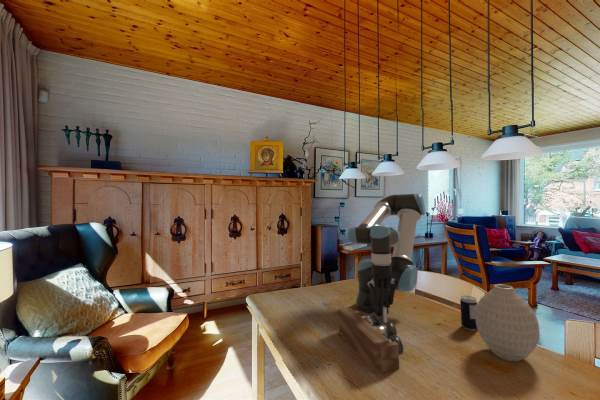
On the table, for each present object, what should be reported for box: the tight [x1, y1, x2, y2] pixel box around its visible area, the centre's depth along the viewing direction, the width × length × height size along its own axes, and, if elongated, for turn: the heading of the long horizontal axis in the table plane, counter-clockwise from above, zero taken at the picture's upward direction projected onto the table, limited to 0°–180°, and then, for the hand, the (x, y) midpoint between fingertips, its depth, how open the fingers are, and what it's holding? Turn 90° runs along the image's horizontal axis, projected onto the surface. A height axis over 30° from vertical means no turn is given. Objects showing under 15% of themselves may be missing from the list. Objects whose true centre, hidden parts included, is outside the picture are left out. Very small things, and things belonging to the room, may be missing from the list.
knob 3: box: [388, 335, 404, 356], centre depth 82 cm, size 9×6×6 cm, turn 105°
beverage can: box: [459, 295, 478, 332], centre depth 102 cm, size 6×6×12 cm
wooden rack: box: [338, 307, 400, 375], centre depth 90 cm, size 8×27×9 cm, turn 15°
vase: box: [475, 283, 540, 363], centre depth 84 cm, size 16×16×22 cm
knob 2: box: [373, 321, 398, 339], centre depth 92 cm, size 9×6×6 cm, turn 105°
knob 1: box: [360, 312, 383, 326], centre depth 101 cm, size 9×6×6 cm, turn 105°
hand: (383, 323), depth 102 cm, fingers closed
